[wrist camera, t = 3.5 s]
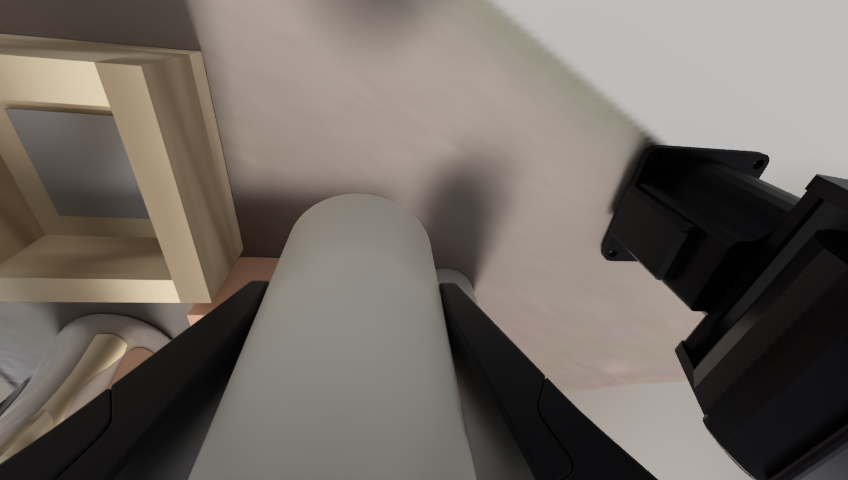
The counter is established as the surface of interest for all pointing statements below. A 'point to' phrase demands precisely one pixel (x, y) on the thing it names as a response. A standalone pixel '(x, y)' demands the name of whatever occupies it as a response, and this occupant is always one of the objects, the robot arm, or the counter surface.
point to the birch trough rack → (110, 175)
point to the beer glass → (74, 374)
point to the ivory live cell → (345, 360)
